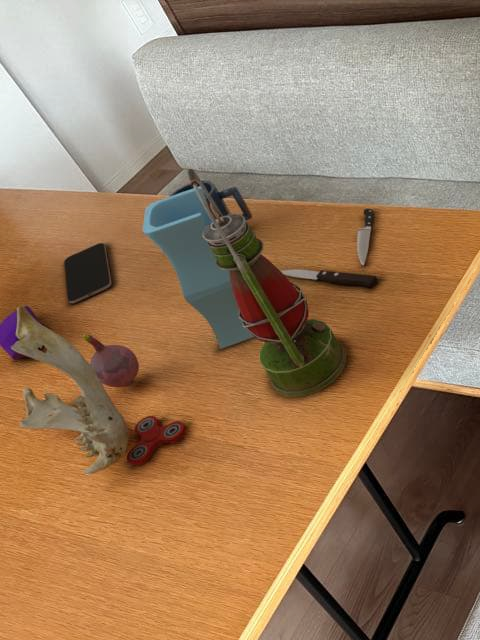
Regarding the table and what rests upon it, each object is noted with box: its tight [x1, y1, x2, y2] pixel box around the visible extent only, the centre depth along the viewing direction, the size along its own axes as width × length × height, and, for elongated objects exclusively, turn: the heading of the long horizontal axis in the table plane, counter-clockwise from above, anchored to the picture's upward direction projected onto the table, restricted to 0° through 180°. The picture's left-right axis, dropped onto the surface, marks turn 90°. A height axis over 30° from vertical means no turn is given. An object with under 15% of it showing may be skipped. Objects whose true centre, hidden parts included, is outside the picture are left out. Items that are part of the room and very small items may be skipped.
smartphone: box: [64, 242, 113, 304], centre depth 136 cm, size 7×1×15 cm
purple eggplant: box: [0, 305, 41, 360], centre depth 125 cm, size 5×5×15 cm
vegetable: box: [82, 333, 140, 388], centre depth 110 cm, size 6×6×10 cm
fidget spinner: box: [126, 415, 187, 466], centre depth 104 cm, size 8×7×1 cm
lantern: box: [186, 168, 347, 398], centre depth 97 cm, size 14×11×30 cm
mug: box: [168, 179, 253, 222], centre depth 132 cm, size 11×8×9 cm
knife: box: [356, 208, 374, 266], centre depth 125 cm, size 15×1×2 cm
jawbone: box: [11, 305, 129, 475], centre depth 104 cm, size 25×18×10 cm
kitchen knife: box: [280, 268, 379, 288], centre depth 120 cm, size 18×1×2 cm
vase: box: [142, 186, 255, 350], centre depth 110 cm, size 8×8×20 cm
